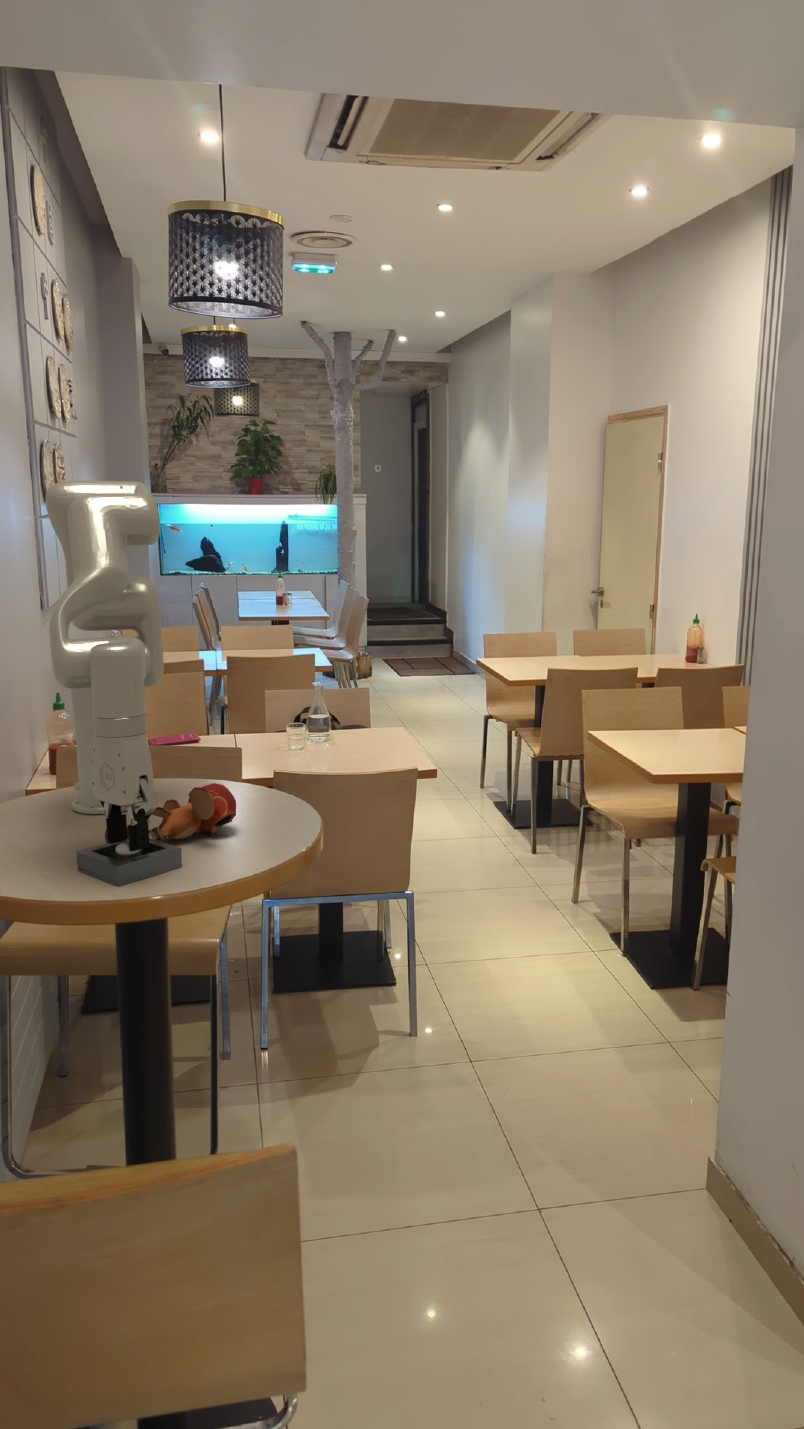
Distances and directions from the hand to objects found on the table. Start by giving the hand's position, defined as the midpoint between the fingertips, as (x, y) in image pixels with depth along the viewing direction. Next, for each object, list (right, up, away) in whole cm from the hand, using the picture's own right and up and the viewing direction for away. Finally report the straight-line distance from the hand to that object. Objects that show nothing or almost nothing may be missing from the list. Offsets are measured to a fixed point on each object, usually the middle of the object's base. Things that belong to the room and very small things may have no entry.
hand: (128, 843), depth 147 cm
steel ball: (0, -1, 0) cm, 1 cm away
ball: (-5, 0, +11) cm, 12 cm away
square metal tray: (0, -4, +1) cm, 4 cm away
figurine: (+5, -1, +17) cm, 18 cm away
